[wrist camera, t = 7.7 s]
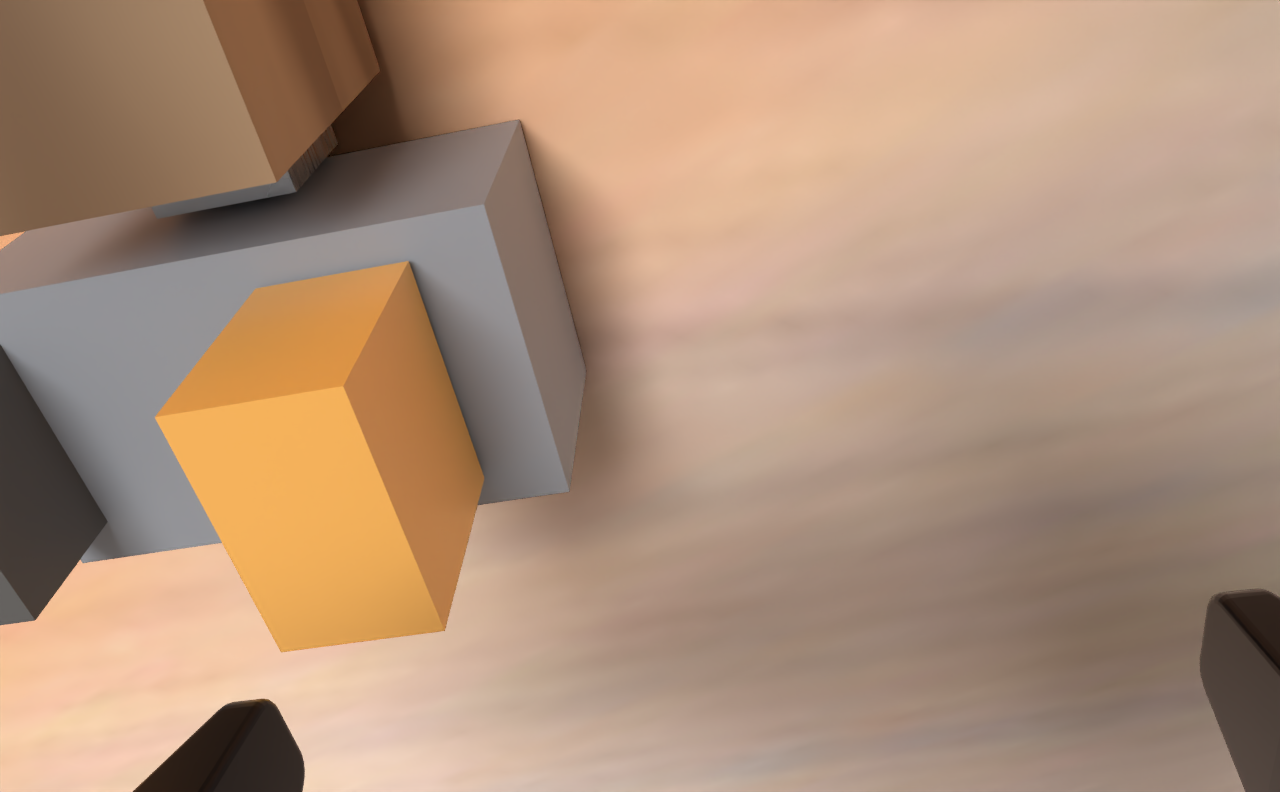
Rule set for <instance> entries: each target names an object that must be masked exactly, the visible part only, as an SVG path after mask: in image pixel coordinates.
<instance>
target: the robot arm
mask: <svg viewBox="0 0 1280 792" xmlns="http://www.w3.org/2000/svg"><path fill="white" fill-rule="evenodd" d="M1200 673H1201V678H1202V682H1203V686H1204V689H1205V692H1206V694H1207V697H1208V699H1209V702H1210V704H1211V707H1212V709H1213V712H1214V714H1215V717H1216V719H1217V722H1218V724H1219V727H1220V729H1221V732H1222V734H1223V737H1224V739H1225V742H1226V744H1227V747H1228V749H1229V752H1230V754H1231V757H1232V759H1233V762H1234V764H1235V767H1236V769H1237V772H1238V774H1239V777H1240V779H1241V782H1242V784H1243V787H1244V789H1245V792H1280V597H1278V596H1277V595H1275V594H1273V593H1271V592H1269V591H1266V590H1263V589H1249V590H1240V591H1231V592H1222V593H1218V594H1215V595H1214V596H1213V597H1212V598H1211V599H1210V601H1209V603H1208V607H1207V613H1206V620H1205V627H1204V634H1203V641H1202V648H1201V655H1200ZM304 776H305V769H304V761H303V757H302V754H301V751H300V749H299V748H298V746H297V744H296V742H295V740H294V738H293V736H292V734H291V732H290V730H289V729H288V727H287V725H286V723H285V721H284V719H283V717H282V715H281V713H280V711H279V710H278V708H277V706H276V705H275V704H274V703H273V702H271V701H270V700H268V699H256V700H248V701H239V702H232V703H229V704H227V705H225V706H223V707H222V708H221V709H220V710H218V711H217V712H216V713H215V714H214V715H213V716H212V717H211V718H210V719H209V720H208V721H207V722H206V723H205V724H204V725H203V726H201V727H200V728H199V729H198V730H197V731H196V732H195V733H194V734H193V735H192V736H191V737H190V738H189V739H188V740H187V741H186V742H185V743H184V744H182V745H181V746H180V747H179V748H178V749H177V750H176V751H175V752H174V753H173V754H172V755H171V756H170V757H169V758H168V759H167V760H166V761H165V762H163V763H162V764H161V765H160V766H159V767H158V768H157V769H156V770H155V771H154V772H153V773H152V774H151V775H150V776H149V777H148V778H147V779H146V780H144V781H143V782H142V783H141V784H140V785H139V786H138V787H137V788H136V789H135V790H134V791H133V792H302V791H303V785H304Z"/></svg>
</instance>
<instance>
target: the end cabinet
mask: <svg viewBox="0 0 1280 792" xmlns="http://www.w3.org/2000/svg"><path fill="white" fill-rule="evenodd" d="M405 261H409V264H410V266H411V269H412V272H413V275H414V278H415V281H416V284H417V286H418V289H419V292H420V295H421V298H422V301H423V304H424V306H425V309H426V312H427V315H428V318H429V321H430V324H431V326H432V329H433V332H434V335H435V338H436V341H437V344H438V346H439V349H440V352H441V355H442V358H443V361H444V364H445V366H446V369H447V372H448V375H449V378H450V381H451V384H452V386H453V389H454V392H455V395H456V398H457V401H458V404H459V407H460V409H461V412H462V415H463V418H464V421H465V424H466V427H467V429H468V432H469V435H470V438H471V441H472V444H473V447H474V449H475V452H476V455H477V458H478V461H479V464H480V467H481V469H482V472H483V475H484V482H483V486H482V490H481V494H480V497H479V501H478V505H482V504H489V503H495V502H502V501H509V500H516V499H523V498H530V497H536V496H543V495H550V494H557V493H564V492H569V491H570V484H571V477H572V470H573V463H574V456H575V449H576V442H577V434H578V427H579V420H580V413H581V406H582V399H583V392H584V384H585V377H586V367H585V363H584V360H583V356H582V352H581V348H580V345H579V341H578V337H577V333H576V330H575V326H574V322H573V318H572V315H571V311H570V307H569V303H568V300H567V296H566V292H565V288H564V285H563V281H562V277H561V273H560V270H559V266H558V262H557V258H556V255H555V251H554V247H553V243H552V240H551V236H550V232H549V228H548V225H547V221H546V217H545V213H544V210H543V206H542V202H541V198H540V195H539V191H538V187H537V183H536V180H535V176H534V172H533V168H532V165H531V161H530V157H529V153H528V150H527V146H526V142H525V138H524V135H523V131H522V127H521V123H520V120H514V121H509V122H504V123H499V124H494V125H489V126H484V127H479V128H474V129H468V130H463V131H458V132H453V133H448V134H443V135H438V136H433V137H428V138H423V139H417V140H412V141H407V142H402V143H397V144H392V145H387V146H382V147H377V148H372V149H366V150H361V151H356V152H351V153H346V154H341V155H336V156H331V157H326V158H325V159H324V161H323V162H322V163H321V164H320V165H319V166H318V167H317V169H316V170H315V171H314V172H313V173H312V174H311V176H310V177H309V178H308V179H307V180H306V181H305V183H304V184H303V185H302V186H301V187H300V188H299V189H298V191H297V192H294V193H289V194H284V195H279V196H274V197H268V198H263V199H258V200H253V201H248V202H242V203H237V204H232V205H227V206H222V207H216V208H211V209H206V210H201V211H196V212H190V213H185V214H180V215H175V216H170V217H164V218H159V219H157V218H156V216H155V214H154V212H153V210H152V207H147V208H142V209H137V210H132V211H127V212H121V213H116V214H111V215H106V216H101V217H96V218H90V219H85V220H80V221H75V222H70V223H65V224H60V225H54V226H49V227H44V228H39V229H34V230H29V231H26V232H24V233H23V234H22V235H20V236H19V237H18V238H16V239H15V240H14V241H12V242H11V243H9V244H8V245H7V246H5V247H4V248H3V249H1V250H0V625H5V624H12V623H20V622H27V621H34V620H36V619H37V617H38V616H39V614H40V613H41V612H42V610H43V609H44V608H45V606H46V605H47V604H48V602H49V601H50V600H51V598H52V597H53V596H54V594H55V593H56V591H57V590H58V589H59V587H60V586H61V585H62V583H63V582H64V581H65V579H66V578H67V577H68V575H69V574H70V572H71V571H72V570H73V568H74V567H75V566H76V564H77V563H78V562H79V560H80V559H81V561H82V562H83V563H87V562H94V561H100V560H107V559H114V558H121V557H128V556H134V555H141V554H148V553H155V552H162V551H168V550H175V549H182V548H189V547H196V546H203V545H209V544H216V543H222V542H221V540H220V538H219V536H218V534H217V532H216V530H215V529H214V527H213V525H212V523H211V521H210V519H209V517H208V516H207V514H206V512H205V510H204V508H203V506H202V504H201V503H200V501H199V499H198V497H197V495H196V493H195V491H194V490H193V488H192V486H191V484H190V482H189V480H188V478H187V477H186V475H185V473H184V471H183V469H182V467H181V465H180V464H179V462H178V460H177V458H176V456H175V454H174V452H173V451H172V449H171V447H170V445H169V443H168V441H167V439H166V438H165V436H164V434H163V432H162V430H161V428H160V426H159V425H158V423H157V421H156V419H155V416H156V415H157V413H158V412H159V411H160V410H161V408H162V407H163V406H164V405H165V403H166V402H167V401H168V399H169V398H170V397H171V396H172V394H173V393H174V392H175V391H176V389H177V388H178V387H179V385H180V384H181V383H182V382H183V380H184V379H185V378H186V376H187V375H188V374H189V373H190V371H191V370H192V369H193V368H194V366H195V365H196V364H197V362H198V361H199V360H200V359H201V357H202V356H203V355H204V354H205V352H206V351H207V350H208V348H209V347H210V346H211V345H212V343H213V342H214V341H215V339H216V338H217V337H218V336H219V334H220V333H221V332H222V331H223V329H224V328H225V327H226V325H227V324H228V323H229V322H230V320H231V319H232V318H233V316H234V315H235V314H236V313H237V311H238V310H239V309H240V308H241V306H242V305H243V304H244V302H245V301H246V300H247V299H248V297H249V296H250V295H251V294H252V292H253V291H254V290H255V289H256V288H261V287H267V286H272V285H278V284H283V283H289V282H294V281H300V280H306V279H311V278H317V277H322V276H328V275H333V274H339V273H344V272H350V271H355V270H361V269H367V268H372V267H378V266H383V265H389V264H394V263H400V262H405Z"/></svg>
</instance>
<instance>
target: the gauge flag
mask: <svg viewBox="0 0 1280 792" xmlns="http://www.w3.org/2000/svg"><path fill="white" fill-rule="evenodd" d="M155 419H156V421H157V423H158V425H159V426H160V428H161V430H162V432H163V434H164V436H165V438H166V439H167V441H168V443H169V445H170V447H171V449H172V451H173V452H174V454H175V456H176V458H177V460H178V462H179V464H180V465H181V467H182V469H183V471H184V473H185V475H186V477H187V478H188V480H189V482H190V484H191V486H192V488H193V490H194V491H195V493H196V495H197V497H198V499H199V501H200V503H201V504H202V506H203V508H204V510H205V512H206V514H207V516H208V517H209V519H210V521H211V523H212V525H213V527H214V529H215V530H216V532H217V534H218V536H219V538H220V540H221V542H222V543H223V545H224V547H225V549H226V551H227V553H228V555H229V556H230V558H231V560H232V562H233V564H234V566H235V568H236V569H237V571H238V573H239V575H240V577H241V579H242V581H243V582H244V584H245V586H246V588H247V590H248V592H249V594H250V595H251V597H252V599H253V601H254V603H255V605H256V607H257V608H258V610H259V612H260V614H261V616H262V618H263V620H264V621H265V623H266V625H267V627H268V629H269V631H270V633H271V634H272V636H273V638H274V640H275V642H276V644H277V646H278V647H279V649H280V651H281V652H287V651H294V650H302V649H310V648H317V647H325V646H332V645H340V644H348V643H355V642H363V641H371V640H378V639H386V638H394V637H401V636H409V635H416V634H424V633H432V632H439V631H445V628H446V624H447V620H448V616H449V613H450V609H451V605H452V601H453V597H454V593H455V590H456V586H457V582H458V578H459V574H460V570H461V566H462V563H463V559H464V555H465V551H466V547H467V543H468V540H469V536H470V532H471V528H472V524H473V520H474V517H475V513H476V509H477V505H478V501H479V497H480V494H481V490H482V486H483V482H484V475H483V472H482V469H481V467H480V464H479V461H478V458H477V455H476V452H475V449H474V447H473V444H472V441H471V438H470V435H469V432H468V429H467V427H466V424H465V421H464V418H463V415H462V412H461V409H460V407H459V404H458V401H457V398H456V395H455V392H454V389H453V386H452V384H451V381H450V378H449V375H448V372H447V369H446V366H445V364H444V361H443V358H442V355H441V352H440V349H439V346H438V344H437V341H436V338H435V335H434V332H433V329H432V326H431V324H430V321H429V318H428V315H427V312H426V309H425V306H424V304H423V301H422V298H421V295H420V292H419V289H418V286H417V284H416V281H415V278H414V275H413V272H412V269H411V266H410V264H409V261H405V262H400V263H394V264H389V265H383V266H378V267H372V268H367V269H361V270H355V271H350V272H344V273H339V274H333V275H328V276H322V277H317V278H311V279H306V280H300V281H294V282H289V283H283V284H278V285H272V286H267V287H261V288H256V289H255V290H254V291H253V292H252V294H251V295H250V296H249V297H248V299H247V300H246V301H245V302H244V304H243V305H242V306H241V308H240V309H239V310H238V311H237V313H236V314H235V315H234V316H233V318H232V319H231V320H230V322H229V323H228V324H227V325H226V327H225V328H224V329H223V331H222V332H221V333H220V334H219V336H218V337H217V338H216V339H215V341H214V342H213V343H212V345H211V346H210V347H209V348H208V350H207V351H206V352H205V354H204V355H203V356H202V357H201V359H200V360H199V361H198V362H197V364H196V365H195V366H194V368H193V369H192V370H191V371H190V373H189V374H188V375H187V376H186V378H185V379H184V380H183V382H182V383H181V384H180V385H179V387H178V388H177V389H176V391H175V392H174V393H173V394H172V396H171V397H170V398H169V399H168V401H167V402H166V403H165V405H164V406H163V407H162V408H161V410H160V411H159V412H158V413H157V415H156V416H155Z"/></svg>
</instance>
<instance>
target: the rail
mask: <svg viewBox="0 0 1280 792" xmlns="http://www.w3.org/2000/svg"><path fill="white" fill-rule="evenodd" d="M337 144H338V142H337V139H336V136H335V134H334V131H333V128H332V125H331V124H330V126H329V127H328V128H327V129H326V130H325V131H324V132H323V133H322V134H321V135H320V136H319V137H318V139H317V140H316V141H315V142H314V143H313V144H312V145H311V146H310V147H309V148H308V149H307V150H306V151H305V153H304V154H303V155H302V156H301V157H300V158H299V159H298V160H297V161H296V162H295V163H294V164H293V165H292V167H291V168H290V169H289V170H288V171H287V172H286V173H285V174H284V175H283V176H282V177H281V178H280V179H279V181H278V182H276V183H271V184H266V185H261V186H255V187H250V188H245V189H240V190H235V191H230V192H225V193H219V194H214V195H209V196H204V197H199V198H194V199H188V200H183V201H178V202H173V203H168V204H163V205H158V206H152V210H153V212H154V214H155V216H156V218H157V219H159V218H164V217H170V216H175V215H180V214H185V213H190V212H196V211H201V210H206V209H211V208H216V207H222V206H227V205H232V204H237V203H242V202H248V201H253V200H258V199H263V198H268V197H274V196H279V195H284V194H289V193H294V192H297V191H298V189H299V188H300V187H301V186H302V185H303V184H304V183H305V181H306V180H307V179H308V178H309V177H310V176H311V174H312V173H313V172H314V171H315V170H316V169H317V167H318V166H319V165H320V164H321V163H322V162H323V161H324V159H325V158H326V157H327V156H328V155H329V154H330V152H331V151H332V150H333V149H334V148H335V147H336V145H337Z"/></svg>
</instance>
